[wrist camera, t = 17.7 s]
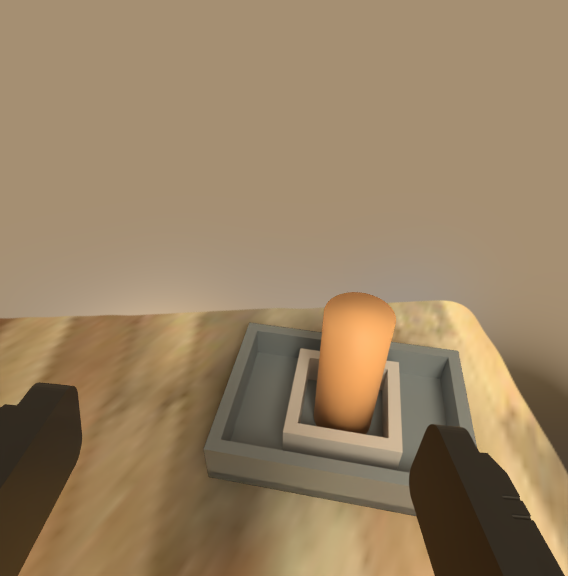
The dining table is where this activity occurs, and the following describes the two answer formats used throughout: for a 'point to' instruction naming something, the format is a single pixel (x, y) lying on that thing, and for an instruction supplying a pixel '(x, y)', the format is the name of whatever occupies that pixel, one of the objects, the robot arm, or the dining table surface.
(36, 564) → the dining table surface
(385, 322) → the rounded orange object
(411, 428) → the walled box
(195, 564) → the dining table surface
